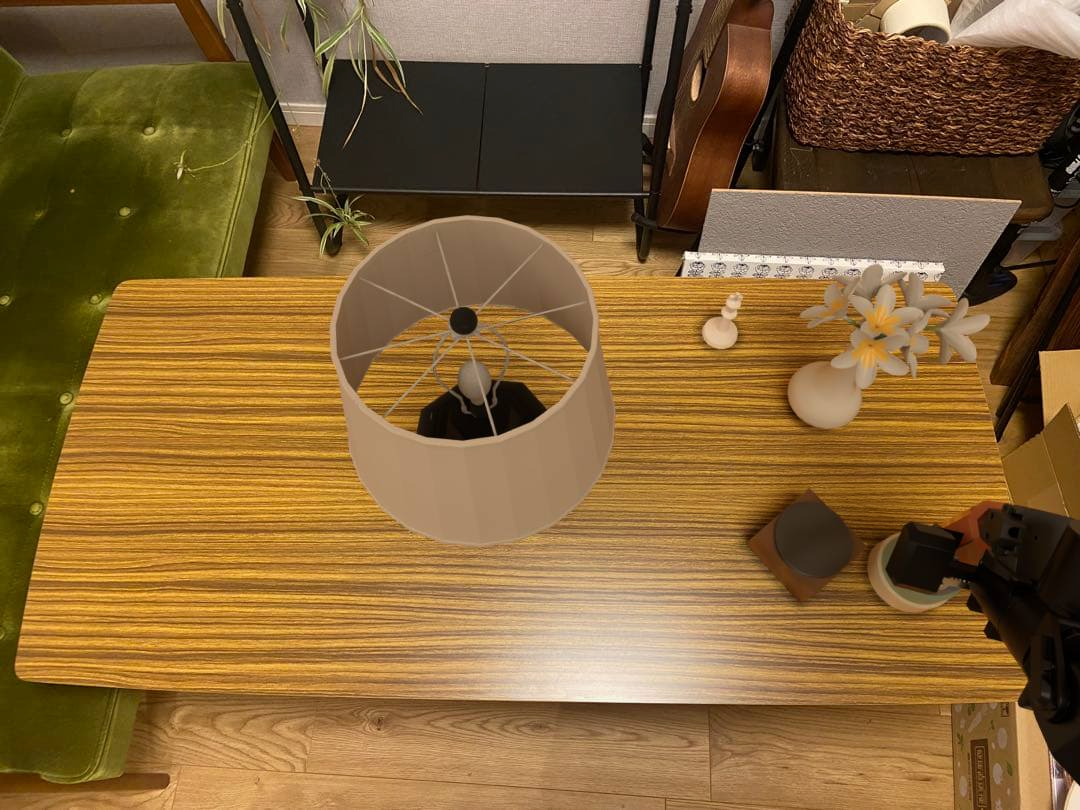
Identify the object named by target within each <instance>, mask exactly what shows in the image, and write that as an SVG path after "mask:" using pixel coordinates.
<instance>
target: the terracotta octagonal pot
mask: <svg viewBox="0 0 1080 810" xmlns="http://www.w3.org/2000/svg"><path fill="white" fill-rule="evenodd" d="M1005 503H1007V504H1011V505H1013V504H1012V503H1011V502H1003V501H995V500H987V499H985V500H982V501H980V502H979V503H977V504H974V505H973V506H971V507H970V508H968V509H965V510H964V511H962V512H959V513H957V514H956V515H955V516H953V517H951V518H949V519H947V520H945V521H943V522H941V523H940V524H939V525H940V526H942V527H943V528H946V529H950V530H954V531H958V532H962V533H964V536H963V538H962V540H961V542H960V544H959V546H958V548H957V551H956V553H955V554H956V555H958V557H959V558H960V559H959V561H960V562H963V563H967V564H971V565H975V566H978V562H979V560H980V559H981V558H982V556H983V554H984V552H985V550H986V549H991V550H992V544H991V543H987V542H984V541H983V539H982V530H983V527H984V523H985V519H986V515H987V513H988V512H989V511H990V510H996V511H1000V510H1001V509H1002V506H1003V505H1004V504H1005Z"/></svg>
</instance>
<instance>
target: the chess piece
mask: <svg viewBox="0 0 1080 810" xmlns="http://www.w3.org/2000/svg"><path fill="white" fill-rule="evenodd" d="M743 299H744V295H743V294H740V292H739V291H735V294H729V296H728V297H726V299H725V305H724V306H723V307H722V308H721V311H720V314H721V316H715V317H711V318H709V319H708V320H707V321H706V322H705V323H704V325H703V326H702V328H701V329H702V330H701V336H702V338H703V340H704V341H705V343H706V344H707V345H709V346H710V347H712V348H714V349H719V350H724V349H728V348H731V347H732V346H734V344H735V343H736V342H737V340H738V336H739V332H738V331H739V330H738V328H737V325H736V324H735V322H733V321H732V320H734V319H735V318H736V317H737V316H738V310H739V309H740V308H741V306H742V301H743Z"/></svg>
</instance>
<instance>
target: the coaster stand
mask: <svg viewBox="0 0 1080 810" xmlns="http://www.w3.org/2000/svg"><path fill="white" fill-rule="evenodd" d="M745 545H746V546H747V547H748V548H749V550H751V552H752V553H753V554H754V555H755V556H756V557H757V558H758V559H759V561H761V562H762V563H763V565H764V566H765V567H766V568H767V569H768V570H769V571H770V572H771V573H772V574H773V575H774V577H775V579H777V580H778V581H779V582H780V583H781V584H782V586H784V587H785V589H786V590H787V591H788V592H789V593H790V594H791V595H792V596H793V597H794V598H795V599H796V601H797V602H798V603H799V604H801V603H803V602H805V601H807V600H808V599H811V598H812V597H815V596H816V594H818V593H819V592H820V591H822V589H823V588H824V587H826V586H827V584H829V583H830V582H831V581H832V580H833V579H834V578H835V577H836V576H838V575H839V574H840V573H841V572H842V571H843V570H844V569H845V568H846V567H847V566H849V564H851V563H852V562H853V560H855V559H856V558H857V557H858V556H859V555H860V554H862V553H863V552H864V551H865V550H866V549H867V548H868V545H867V544H866V543H865V542H864V541H863V540H862V539H861V538H860V537H859V536H858V535H857V534H856V533H855V532H854V531H853V530H852V529H851V528H850V527H849V526H848V525H847V523H846V522H845V520H844V519H843V518H842V517H841V516H840V515H839V514H838V513H837V512H836V511H834V510H833V509H832V508H830V507H829V506H828V505H827V504H826V503H825V502H824V501H823V500H822V499H821V498H820V496H819V495H817V493H815V492H814V491H813V490H812V489H811V488H810V487H809V488H808V489H807V490H805V491H804V492H803V493H802V494H801V495H799V496H798V498H796V499H795V500H794V501H793V502H791V503H790V504H789V505H788V506H787V507H786V508H785V509H783V510H782V511H781V512H780V513H778V515H776V516H775V517H774V518H773V519H772V520H770V522H768V523H767V524H766V525H765V526H763V527H762V528H761V529H760V530H759V531H758V532H757V533H756V534H754V535H753V537H751V538H750V539H749V540H748V541H747V542H746V543H745Z"/></svg>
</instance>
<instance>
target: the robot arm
mask: <svg viewBox="0 0 1080 810" xmlns="http://www.w3.org/2000/svg"><path fill="white" fill-rule="evenodd" d="M1007 503H1008V502H1006V503H1005V504H1004V505H1003V506H1002V509H1001V510H1000V511H996V510H990V511H989V512H988V513H987V515H986V519H985V523H984V527H983V530H982V539H983V541H984V542H987V543H991V544H992V550H991V549H986V550H985V552H984V554H983V556H982V558H981V559H980V560H979V562H978V566H975V565H971V564H967V563H963V562H960V561H959V559H960V558H959V557H958V555H956V554H955V553H956V551H957V548H958V546H959V544H960V542H961V540H962V538H963V536H964V533H962V532H958V531H954V530H950V529H946V528H943V527H942V526H940V524H939V523H937V522H933V524H932V525H933V526H932V525H931V524H926V523H921V522H917V521H914V520H911V521H908V522H907V523H904V524H903V526H902V528H901V531H900V532H901V533H900V535H899V537H898V540H897V542H896V545H895V547H894V549H893V552H892V554H891V556H890V559H889V561H888V563H887V566H886V568H885V570H886V572H887V574H888V576H889V578H890V580H891V582H892V583H893V585H894V586H896V587H900V588H904V589H908V590H912V591H915V592H919V593H923V594H927V595H932V594H935V593H937V591H938V589H940V590H943V589H946V588H947V587H949V586H953V587H957V588H961V589H962V590H965V591H969V592H970V594H969V595H968V598H967V600H966V602H965V606H966V607H967V609H968V610H969V611H971V612H974V613H979V614H982V615H984V616H985V618H986V619H987V622H986V624H985V626H984V628H983V630H982V632H983V633H984V635H985V636H986V638H987V639H989V640H992V641H996V642H1000V643H1003V644H1004V645H1005V647H1006V649H1007V650H1008V651H1009V653H1010V654H1011V656H1012V657H1013V659H1014V660H1015V662H1016V663H1017V664H1018V667H1019V668H1020V669H1021V671H1022V672H1023V673H1024V675H1025V677H1026V679H1027V680H1026V681H1027V682H1026V684H1025V686H1024V688H1023V690H1022V691H1021V693H1020V696H1019V697H1018V699H1017V701H1016V702H1017V706H1018V707H1019V708H1020V709H1023V710H1024V709H1025V710H1028V711H1031V712H1032V713H1033V716H1034V719H1035V722H1036V724H1037V725H1038V728H1039V730H1040V732H1041V735H1042V737H1043V739H1044V741H1045V745H1046V746H1047V748H1048V752H1049V753H1050V755H1051V757H1052V758H1053V760H1055V762H1056V763H1057V764H1058V765H1059V766H1060V767H1061V768H1062V769H1063V770H1064V771H1065V772H1066V773H1067V775H1068V776H1069V777H1070V778H1071V779H1072V780H1073V781H1074V782H1075V783H1076V784H1077V786H1078V787H1080V519H1076V518H1074V517H1071V516H1068V515H1067V516H1066V515H1063V514H1058V513H1055V512H1050V511H1046V510H1042V509H1038V508H1033V507H1029V506H1024V505H1020V504H1012V503H1010V504H1007ZM1011 504H1012V505H1011Z"/></svg>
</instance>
